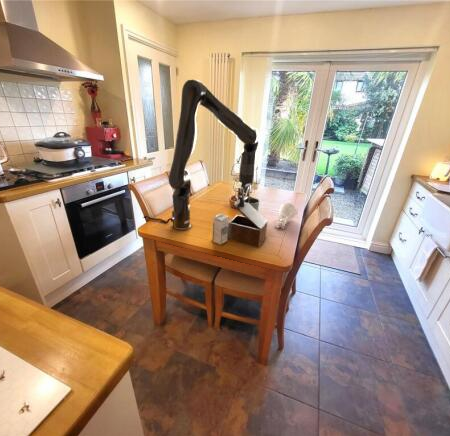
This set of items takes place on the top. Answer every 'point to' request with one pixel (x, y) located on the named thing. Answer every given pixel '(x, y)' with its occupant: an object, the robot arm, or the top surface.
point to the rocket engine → (286, 214)
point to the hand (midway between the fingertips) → (244, 204)
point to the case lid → (251, 214)
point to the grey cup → (254, 203)
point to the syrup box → (220, 228)
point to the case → (245, 231)
